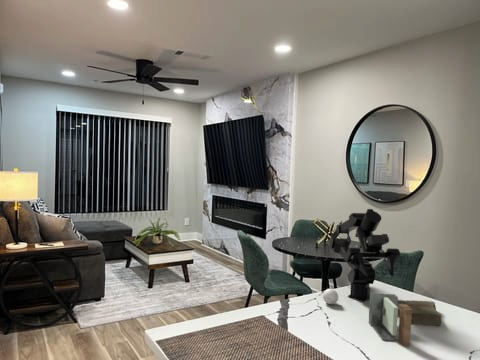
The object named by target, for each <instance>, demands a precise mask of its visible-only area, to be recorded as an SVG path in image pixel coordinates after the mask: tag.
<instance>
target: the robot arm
mask: <svg viewBox="0 0 480 360" xmlns="http://www.w3.org/2000/svg"><path fill="white" fill-rule="evenodd" d="M381 220H382V215H381V214H380V213H378V212H377V211H375V210H374V209H373V208H367V210H366V212H352V213H350V214H349V216H348V219H347V220H345V221H344V222H342V223H340V224H337V225H336V228H335V230H334V231H333V233H331V235H330V239H329V249H330V250H331V251H332V252H334V253H336V254H339V255H340V256H341V257H342V258H343V260H344V261H345V262H346V264H347V265H348V266H349V267H350V271H348V274H347V281H348V282H349V283H350V294H348V298H351V299H353V300H355V301H356V300H357V301H360V302H365V301H368V300H370V293H371V287H370V285H374V283H375V277H376V269H375V268H374V267H373V264H372V263H370V261H369V260H367V259H364V258H369V259H383V262H385V263H384V265H385V268H386V269H387V270H388V271H387V272H388V273H389V275H390V276H391V277H394V275H395V272H394V271H395V270H394V267H395V263H397V262H398V260H399V258H400V257H401V255H402V254H401V251H400V249H398V248H395V247H394V248H393V247H392V248H391V247H390V248H387V249H386V250H385V252H384V251H383V252H381V251H382V249H383V246H384V245H387V244H388V243H389V242H390V237H389V236H388V234H387V233H382V234H374V233H373V232H375V231H376V230H377V229H378V226H379V224H380V223H381ZM354 230H355V238H357V239H358V242H359V246H358V247H350V246H351V242H352V239H351V237H350V232H352V231H354ZM340 234H343V235H344V234H346V238H344V237H343V238H342V237H341V238H339V236H340Z"/></svg>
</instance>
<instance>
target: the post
mask: <svg viewBox="0 0 480 360" xmlns="http://www.w3.org/2000/svg"><path fill="white" fill-rule="evenodd" d="M399 307H400V317H399V321H398V322H399V323H398V339H397V340H398V341H399V342H400V343H401V345H402V346H403V347H405V348H407V347H411V332H412V331H411V330H412V323H411V316H412V313H413V310H412V309H411V308H410V307H409V306H408V305H404V304H399Z"/></svg>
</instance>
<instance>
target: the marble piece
mask: <svg viewBox="0 0 480 360" xmlns="http://www.w3.org/2000/svg"><path fill="white" fill-rule="evenodd" d="M399 304H404V305H408V306H409V307H410V308H411V309H412V310H413V313H412V316H411V324H412V325H416V326H418V325H419V326H426V327H427V326H428V327H438V326H440V325H442V324H443V323H442V316H441V314H440V313H438V311H437V307H436V303H435V302H434V301H430V300H413V299H412V300H402V299H398V303H397V307H398V317H399V318H400V307H399Z"/></svg>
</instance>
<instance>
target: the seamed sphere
mask: <svg viewBox="0 0 480 360" xmlns="http://www.w3.org/2000/svg"><path fill="white" fill-rule="evenodd" d="M322 298H323V301H324V302H325V303H326V304H328V305H334V304H336V303H337V302H338V301H339V300H340V299H339V294H338V292H337V291H336V289H334V288H326V290H324V291H323V293H322Z"/></svg>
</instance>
